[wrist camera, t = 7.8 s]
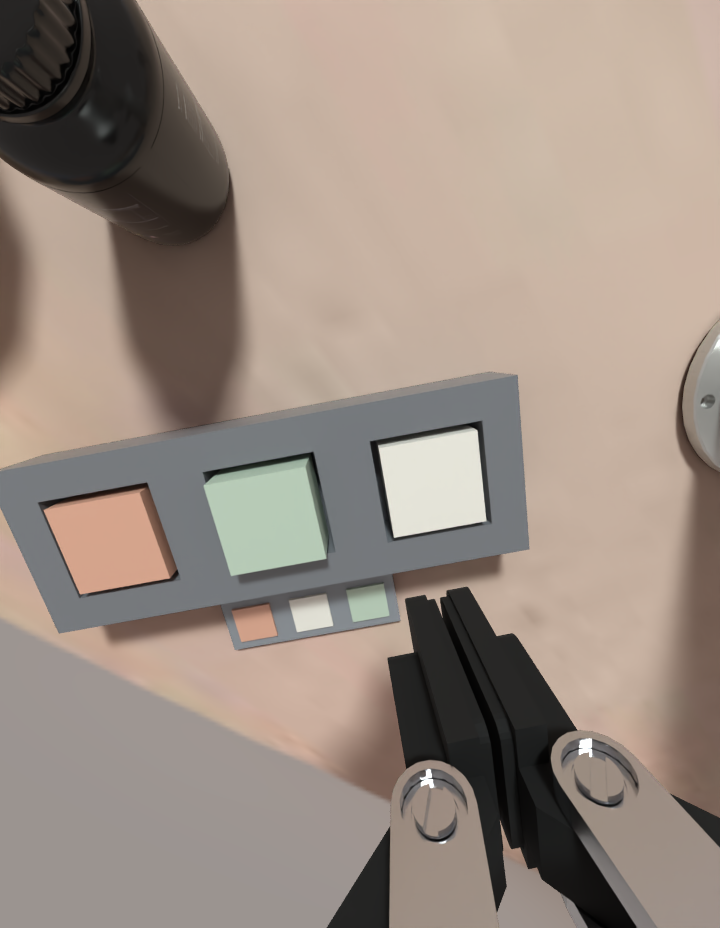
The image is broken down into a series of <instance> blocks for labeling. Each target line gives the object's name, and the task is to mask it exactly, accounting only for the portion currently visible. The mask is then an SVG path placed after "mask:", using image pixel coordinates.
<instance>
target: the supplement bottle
mask: <svg viewBox="0 0 720 928" xmlns="http://www.w3.org/2000/svg"><path fill="white" fill-rule="evenodd" d="M0 158H1V159H2V160H4V161H5V162H6V163H8V164H9V165H10V166H12V167H13V168H15V169H16V170H18V171H19V172H21V173H23V174H24V175H26V176H28V177H29V178H31V179H33V180H34V181H36V182H38V183H40V184H42V185H43V186H45V187H47V188H49V189H51V190H53V191H55V192H56V193H58V194H60V195H62V196H64V197H66V198H68V199H69V200H71V201H73V202H75V203H77V204H79V205H81V206H82V207H84V208H86V209H88V210H90V211H92V212H94V213H95V214H97V215H99V216H101V217H103V218H105V219H107V220H108V221H110V222H112V223H114V224H116V225H118V226H120V227H121V228H123V229H125V230H127V231H129V232H131V233H133V234H135V235H137V236H139V237H141V238H143V239H145V240H148V241H151V242H154V243H157V244H162V245H181V244H186V243H190V242H192V241H195V240H197V239H199V238H200V237H202V236H203V235H205V234H206V233H207V232H208V231H210V230H211V229H212V227H213V226H214V225H215V224H216V222H217V221H218V219H219V218H220V216H221V214H222V212H223V210H224V207H225V204H226V201H227V196H228V189H229V171H228V164H227V159H226V155H225V152H224V149H223V146H222V144H221V141H220V139H219V137H218V135H217V133H216V131H215V129H214V128H213V126H212V124H211V123H210V121H209V119H208V117H207V116H206V114H205V113H204V111H203V109H202V108H201V106H200V104H199V103H198V101H197V100H196V98H195V96H194V95H193V93H192V91H191V90H190V88H189V86H188V85H187V83H186V82H185V80H184V78H183V77H182V75H181V73H180V72H179V70H178V69H177V67H176V65H175V64H174V62H173V60H172V59H171V57H170V55H169V54H168V52H167V51H166V49H165V47H164V46H163V44H162V42H161V41H160V39H159V38H158V36H157V34H156V33H155V31H154V29H153V28H152V26H151V24H150V23H149V21H148V20H147V18H146V16H145V15H144V13H143V11H142V10H141V8H140V7H139V5H138V3H137V2H136V0H0Z"/></svg>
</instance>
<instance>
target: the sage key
mask: <svg viewBox="0 0 720 928" xmlns="http://www.w3.org/2000/svg"><path fill="white" fill-rule="evenodd" d="M204 489H205V493H206V496H207V499H208V502H209V506H210V509H211V512H212V515H213V519H214V522H215V525H216V528H217V532H218V535H219V538H220V541H221V545H222V548H223V551H224V554H225V558H226V561H227V564H228V568H229V571H230V574H231V576H234V575H239V574H245V573H251V572H256V571H262V570H267V569H273V568H278V567H284V566H289V565H295V564H300V563H306V562H312V561H317V560H323V559H326V557H327V547H328V537H329V533H328V528H327V524H326V519H325V515H324V510H323V506H322V501H321V497H320V492H319V488H318V483H317V479H316V474H315V470H314V465H313V461H312V456H311V453H305V454H300V455H294V456H289V457H284V458H278V459H273V460H267V461H262V462H256V463H251V464H246V465H240V466H235V467H229V468H224V469H221V470H220V471H219V472H218V473H217V474H216V475H215V476H213V477H212V478H211V479H210V480H209V481H208V482H207V483H206V484H205V485H204Z"/></svg>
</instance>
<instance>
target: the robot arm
mask: <svg viewBox="0 0 720 928" xmlns="http://www.w3.org/2000/svg"><path fill="white" fill-rule="evenodd" d="M682 411H683V420H684V427H685V430H686V433H687V436H688V439H689V441H690V443H691V445H692V446H693V448H694V450H695V451H696V453H697V455H698V456H699V457H700V458H701V459H702V460H703V461H704V462H705V463H706V464H708V465H709V466H710V467H712V468H713V469H715V470H717V471H718V472H720V320H719V321H718V322H717V323H716V324H715V325H714V326H713V327H712V329H711V330H710V331H709V333H708V335H707V336H706V338H705V339H704V341H703V342H702V344H701V345H700V347H699V348H698V350H697V353H696V355H695V357H694V359H693V361H692V363H691V366H690V368H689V371H688V375H687V378H686V382H685V386H684V392H683V403H682ZM446 594H447V597H441V598H440V603H441V610H442V616H443V618H442V616H441V613H440V611H439V608H438V606H437V603H436V601H435V599H431V600H427V598H426V595H421V596H416V597H411V598H406V599H405V603H406V609H407V615H408V620H409V626H410V632H411V638H412V643H413V649H414V653H410V654H404V655H399V656H394V657H389V658H388V664H389V670H390V676H391V682H392V688H393V694H394V700H395V705H396V711H397V717H398V723H399V729H400V735H401V741H402V746H403V752H404V758H405V764H406V770H405V772H404V773H403V774H402V775H401V776H400V777H399V778H398V780H397V783H396V785H395V787H394V789H393V793H392V799H391V821H390V824H391V826H390V827H389V829H388V831H387V832H386V834H385V835H384V837H383V839H382V840H381V842H380V844H379V845H378V847H377V848H376V850H375V852H374V853H373V855H372V856H371V858H370V859H369V861H368V863H367V864H366V866H365V867H364V869H363V871H362V872H361V874H360V875H359V877H358V879H357V880H356V882H355V883H354V885H353V887H352V888H351V890H350V891H349V893H348V895H347V896H346V898H345V900H344V901H343V903H342V904H341V906H340V907H339V909H338V911H337V912H336V914H335V915H334V917H333V919H332V920H331V922H330V923H329V925H328V927H327V928H499V923H498V918H497V911H498V908H499V905H500V903H501V900H502V897H503V895H504V892H505V889H506V887H507V886H506V878H505V870H504V861H503V853H502V851H503V842H502V834H501V825H500V821H501V824H502V827H503V829H504V832H505V835H506V838H507V840H508V843H509V845H510V847H511V849H515V848H519V847H520V848H521V851H522V853H523V856H524V859H525V861H526V864H527V867H528V869H531V868H536V867H537V868H538V871H539V873H540V876H541V878H542V880H543V881H545V882H546V883H547V884H549V885H550V886H552V887H553V888H554V889H556V890H557V891H558V892H560V893H561V896H562V898H563V901H564V903H565V905H566V908H567V910H568V912H569V914H570V916H571V918H572V919H573V921H574V923H575V925H576V927H577V928H720V818H719V817H717V816H714V815H712V814H710V813H708V812H706V811H704V810H702V809H700V808H698V807H696V806H694V805H692V804H690V803H688V802H686V801H684V800H682V799H680V798H678V797H676V796H674V795H672V794H670V793H669V792H668V791H667V790H666V789H665V788H664V787H663V786H662V785H661V784H660V783H659V782H658V781H657V779H656V778H655V777H654V776H653V775H652V774H651V773H650V772H649V771H648V770H647V769H646V768H645V767H644V765H643V764H642V763H641V762H640V761H639V760H638V759H637V758H636V757H635V756H634V755H633V754H632V753H631V752H630V751H629V750H627V749H626V748H625V747H624V746H623V745H622V744H620V743H618V742H616V741H615V740H613V739H611V738H610V737H608V736H605V735H602V734H599V733H596V732H593V731H582V730H577V729H576V727H575V726H574V724H573V723H572V721H571V720H570V718H569V717H568V715H567V713H566V712H565V710H564V709H563V707H562V706H561V704H560V703H559V701H558V700H557V698H556V696H555V695H554V693H553V692H552V690H551V689H550V687H549V686H548V684H547V683H546V681H545V680H544V678H543V676H542V675H541V673H540V672H539V670H538V669H537V667H536V666H535V664H534V663H533V661H532V659H531V658H530V656H529V655H528V653H527V652H526V650H525V649H524V647H523V646H522V644H521V643H520V641H519V639H518V638H517V637H516V636H515V635H514V634H513V633H511V634H506V635H501V636H496V634H495V633H494V631H493V629H492V627H491V626H490V624H489V622H488V620H487V619H486V617H485V615H484V614H483V612H482V610H481V608H480V607H479V605H478V603H477V601H476V600H475V598H474V596H473V594H472V593H471V591H470V589H469V588H468V587H462V588H457V589H452V590H447V593H446Z"/></svg>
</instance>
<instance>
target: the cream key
mask: <svg viewBox="0 0 720 928" xmlns="http://www.w3.org/2000/svg"><path fill="white" fill-rule="evenodd" d="M375 441H376V447H377V453H378V459H379V464H380V470H381V476H382V482H383V487H384V493H385V499H386V505H387V510H388V516H389V520H390V524H391V528H392V531H393V535H394V538H396V537H401V536H407V535H412V534H418V533H423V532H429V531H435V530H440V529H446V528H451V527H457V526H462V525H468V524H473V523H479V522H484V521H486V512H485V502H484V492H483V482H482V472H481V462H480V452H479V442H478V432H477V430H476V429H474V428H472V427H471V426H469V425H467V424H461V425H455V426H450V427H444V428H439V429H434V430H428V431H423V432H417V433H412V434H406V435H401V436H396V437H390V438H385V439H379V440H375Z"/></svg>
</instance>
